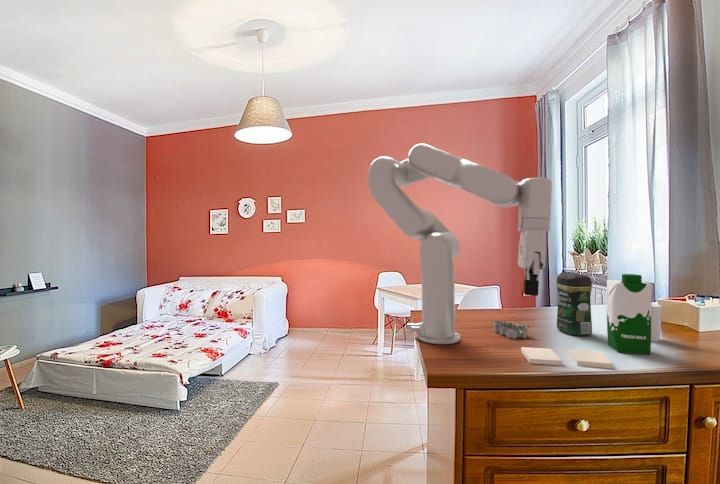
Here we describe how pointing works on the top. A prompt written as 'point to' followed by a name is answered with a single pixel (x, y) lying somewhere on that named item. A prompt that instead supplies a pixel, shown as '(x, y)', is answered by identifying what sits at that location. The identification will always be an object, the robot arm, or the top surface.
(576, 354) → the ochre tile
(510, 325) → the egg carton
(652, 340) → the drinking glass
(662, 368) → the top surface
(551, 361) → the teal tile
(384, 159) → the robot arm
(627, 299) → the milk carton
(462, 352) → the top surface
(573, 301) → the coffee jar
